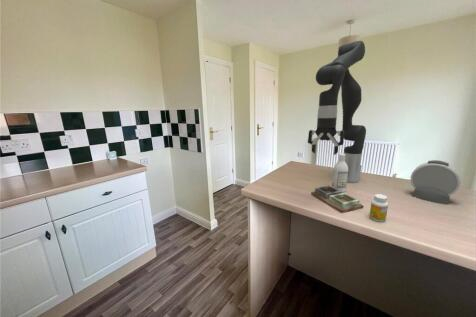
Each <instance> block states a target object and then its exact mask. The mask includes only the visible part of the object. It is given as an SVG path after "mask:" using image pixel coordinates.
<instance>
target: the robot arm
mask: <svg viewBox="0 0 476 317" xmlns="http://www.w3.org/2000/svg"><path fill="white" fill-rule="evenodd" d="M365 54H366V46H365V43H364V41H362V40H356V41H352V42H350V43H345V44H343V45H340V46H339V48H338V52H337V57H336V58H335V59H333V60H332V61H331V62H329V63H327V64H324V65H323V66H321V67H319V69H318V70H317V72H316V74H315V81H316V83H317V84H318V85H320V86H327V85H328V86H329V85H331V87H330V88H329V89H327V90H324V91H321V92H320V93H319V99H318V100H319V101H318V109H317V117H316V118H317V121H316V130H313V129H311V130H309V131H308V138H307V143H308V144H310V145H311V152H312V154H316V152H317V151H316V149H317V142H319V141H331V143H333V144H334V148H333V155H337V154H338V152H339V146H343V145H344V140H345V141H350V142H353V144H352V145H348V146H345V147H344V149H343V154H345V162H346V164H347V166H348V178H347V183H358V182H359V181H361V180H360V179H361V173H362V165H361V162H362V155H363V150H364V146H365V141H366V134H367V129H366V126H365V125H362V124H361V125H359V124H353V117H354V115H355V113H356V111H357V110H358V109H359V107H360V105H361V104H362V87H361V86H360V84H359V83H358V81H357V80H356V79H355V78H354V77H353V75H352V74H351V72H350V70H349V68H351V67H352V66H354V65H355V64H357V63H358V62H360V61H362V59H363V58H364V57H365ZM340 90H341V92H340ZM339 93H341V94H340V95H341V106H342V128H341V129H342V130H337V118H338V100H339ZM314 135H316V138H315V139H314V140H313V136H314ZM336 135H338V136H339V137H340V138H339V142H338V140H337V139H336V138H335V136H336Z"/></svg>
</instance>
